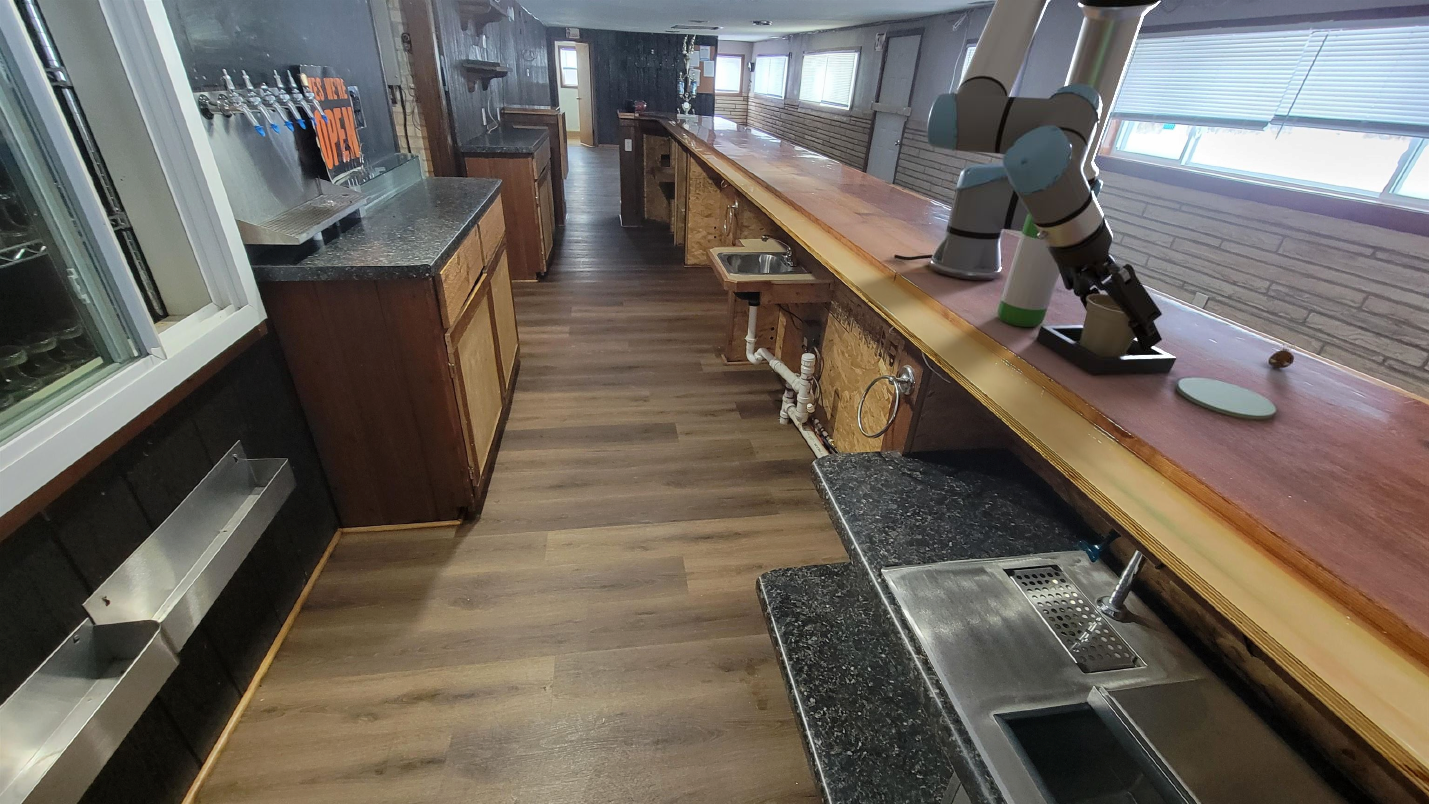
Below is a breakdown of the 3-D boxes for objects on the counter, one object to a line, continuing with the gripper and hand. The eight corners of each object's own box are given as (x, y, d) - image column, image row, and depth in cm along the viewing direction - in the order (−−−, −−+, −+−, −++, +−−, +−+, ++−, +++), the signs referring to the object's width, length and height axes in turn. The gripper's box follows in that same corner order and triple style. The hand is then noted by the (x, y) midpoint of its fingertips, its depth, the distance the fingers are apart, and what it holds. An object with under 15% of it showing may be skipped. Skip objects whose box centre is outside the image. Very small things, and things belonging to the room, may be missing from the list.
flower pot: (1114, 344, 95) (1135, 295, 91) (1146, 369, 87) (1171, 316, 83) (1057, 340, 96) (1075, 291, 92) (1083, 364, 88) (1104, 312, 83)
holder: (1093, 375, 85) (1099, 360, 83) (1036, 339, 96) (1040, 325, 95) (1169, 372, 87) (1177, 357, 85) (1105, 337, 98) (1110, 324, 97)
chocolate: (1272, 370, 89) (1286, 347, 87) (1262, 364, 91) (1275, 341, 89) (1292, 372, 89) (1306, 348, 87) (1281, 365, 91) (1295, 343, 89)
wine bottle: (994, 323, 102) (1050, 142, 87) (996, 310, 108) (1048, 139, 93) (1042, 332, 99) (1108, 146, 84) (1041, 318, 105) (1102, 143, 90)
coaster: (1174, 400, 79) (1176, 396, 78) (1177, 374, 86) (1179, 370, 86) (1276, 428, 73) (1279, 424, 73) (1271, 397, 81) (1273, 394, 80)
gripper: (1004, 230, 90) (1059, 321, 100) (1108, 272, 71) (1161, 378, 81) (1045, 196, 88) (1096, 292, 98) (1162, 230, 69) (1210, 344, 80)
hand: (1126, 331), depth 90 cm, fingers closed on flower pot, 9 cm apart
